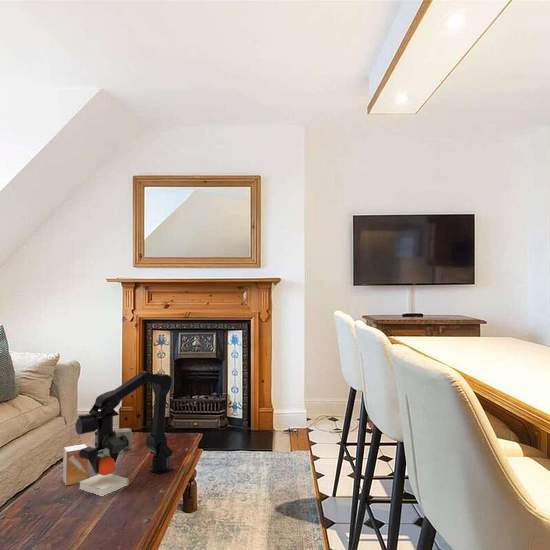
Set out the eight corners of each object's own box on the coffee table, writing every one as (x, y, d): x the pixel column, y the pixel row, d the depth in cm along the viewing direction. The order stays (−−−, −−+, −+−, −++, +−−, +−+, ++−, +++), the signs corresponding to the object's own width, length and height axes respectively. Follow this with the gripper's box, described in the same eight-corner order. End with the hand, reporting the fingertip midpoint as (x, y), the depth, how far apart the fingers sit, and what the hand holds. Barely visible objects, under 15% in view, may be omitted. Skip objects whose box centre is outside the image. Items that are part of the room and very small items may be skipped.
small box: (65, 486, 183) (66, 451, 184) (62, 480, 189) (63, 447, 189) (88, 481, 188) (88, 447, 188) (84, 476, 193) (84, 443, 194)
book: (105, 479, 191) (105, 471, 191) (128, 486, 184) (128, 478, 184) (79, 489, 181) (79, 481, 181) (102, 497, 174) (102, 489, 174)
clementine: (93, 479, 177) (93, 460, 178) (91, 473, 184) (92, 454, 184) (115, 476, 181) (116, 457, 181) (113, 470, 187) (114, 451, 187)
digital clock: (132, 448, 228) (133, 425, 228) (129, 454, 219) (129, 431, 219) (97, 449, 226) (97, 426, 226) (92, 456, 217) (92, 432, 217)
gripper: (98, 438, 171) (98, 483, 171) (138, 426, 187) (138, 466, 186) (78, 433, 177) (78, 477, 176) (119, 421, 193) (119, 461, 192)
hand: (104, 470), depth 183 cm, fingers closed on clementine, 7 cm apart
